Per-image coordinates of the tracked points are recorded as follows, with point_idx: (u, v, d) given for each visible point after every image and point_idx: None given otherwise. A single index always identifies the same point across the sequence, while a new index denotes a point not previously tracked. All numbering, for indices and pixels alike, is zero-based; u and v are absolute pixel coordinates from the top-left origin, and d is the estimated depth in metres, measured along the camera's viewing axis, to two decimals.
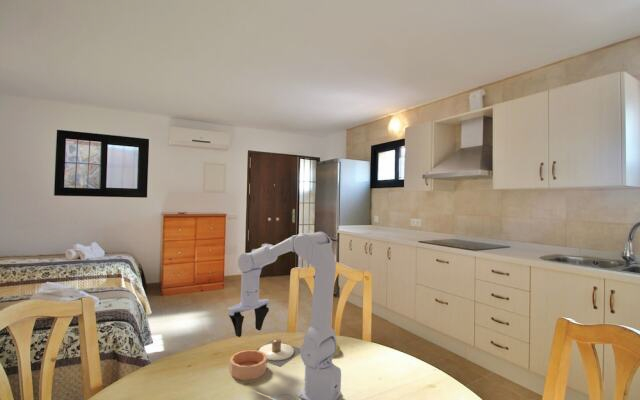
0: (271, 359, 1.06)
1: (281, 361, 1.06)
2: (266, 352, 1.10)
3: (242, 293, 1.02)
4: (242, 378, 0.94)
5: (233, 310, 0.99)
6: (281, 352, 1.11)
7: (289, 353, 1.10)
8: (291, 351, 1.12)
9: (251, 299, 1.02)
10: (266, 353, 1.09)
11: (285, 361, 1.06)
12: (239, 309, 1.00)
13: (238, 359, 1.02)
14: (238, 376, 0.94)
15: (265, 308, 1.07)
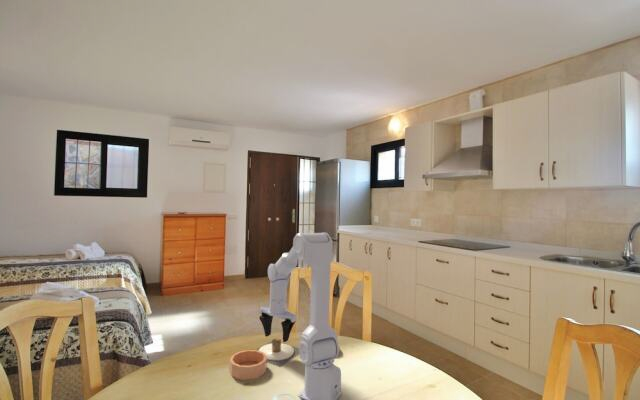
0: (271, 359, 1.06)
1: (281, 361, 1.06)
2: (266, 352, 1.10)
3: None
4: (242, 378, 0.94)
5: (260, 309, 1.14)
6: (281, 352, 1.11)
7: (289, 353, 1.10)
8: (291, 351, 1.12)
9: (270, 306, 1.10)
10: (266, 353, 1.09)
11: (285, 361, 1.06)
12: (264, 311, 1.13)
13: (238, 359, 1.02)
14: (238, 376, 0.94)
15: (286, 322, 1.08)
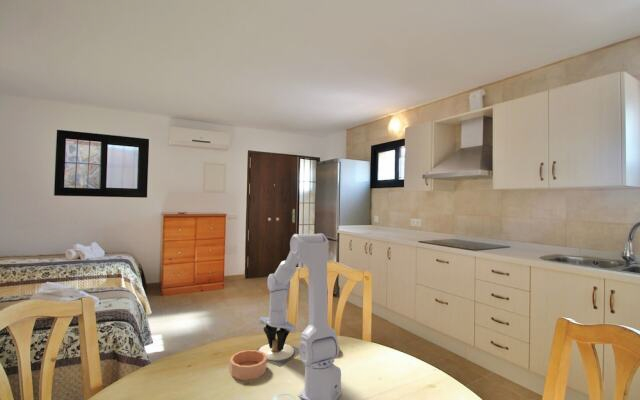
0: (271, 359, 1.06)
1: (281, 361, 1.06)
2: (266, 352, 1.10)
3: None
4: (242, 378, 0.94)
5: (260, 319, 1.14)
6: (281, 352, 1.11)
7: (289, 353, 1.10)
8: (291, 351, 1.12)
9: (270, 317, 1.10)
10: (266, 353, 1.09)
11: (285, 361, 1.06)
12: (263, 321, 1.13)
13: (238, 359, 1.02)
14: (238, 376, 0.94)
15: (285, 332, 1.08)
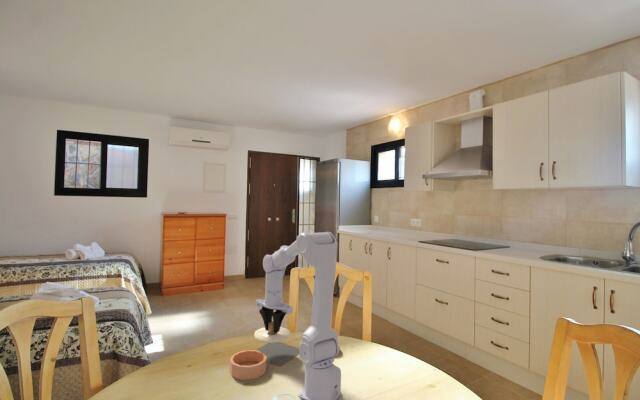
0: (267, 341, 1.04)
1: (281, 361, 1.06)
2: (262, 335, 1.08)
3: None
4: (242, 378, 0.94)
5: (256, 301, 1.12)
6: (277, 334, 1.09)
7: (286, 335, 1.08)
8: (287, 334, 1.09)
9: (265, 298, 1.08)
10: (262, 335, 1.07)
11: (285, 361, 1.06)
12: (259, 303, 1.11)
13: (238, 359, 1.02)
14: (238, 376, 0.94)
15: (281, 314, 1.05)
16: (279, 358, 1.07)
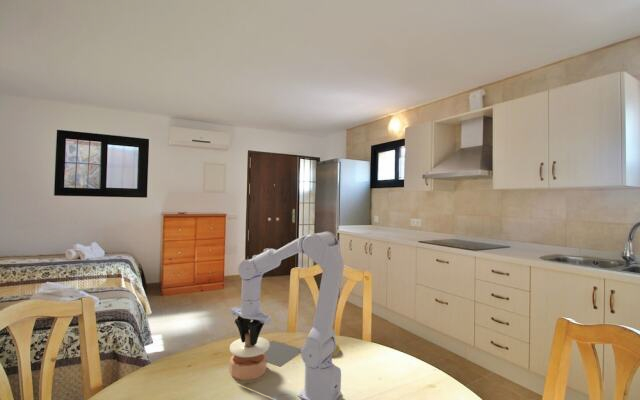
0: (243, 355, 0.94)
1: (281, 361, 1.06)
2: (238, 348, 0.98)
3: None
4: (242, 378, 0.94)
5: (232, 310, 1.02)
6: (255, 346, 0.99)
7: (264, 347, 0.99)
8: (266, 345, 1.00)
9: (241, 307, 0.98)
10: (238, 349, 0.98)
11: (285, 361, 1.06)
12: (235, 312, 1.01)
13: (238, 359, 1.02)
14: (238, 376, 0.94)
15: (258, 324, 0.96)
16: (279, 358, 1.07)
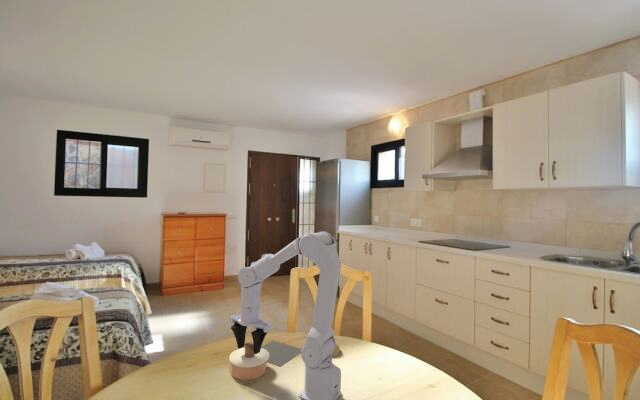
0: (242, 365, 0.94)
1: (281, 361, 1.06)
2: (238, 358, 0.98)
3: None
4: (242, 378, 0.94)
5: (231, 318, 1.02)
6: (255, 357, 0.99)
7: (264, 358, 0.99)
8: (266, 356, 1.00)
9: (241, 314, 0.98)
10: (238, 358, 0.98)
11: (285, 361, 1.06)
12: (234, 319, 1.01)
13: None
14: (238, 376, 0.94)
15: (258, 332, 0.96)
16: (279, 358, 1.07)
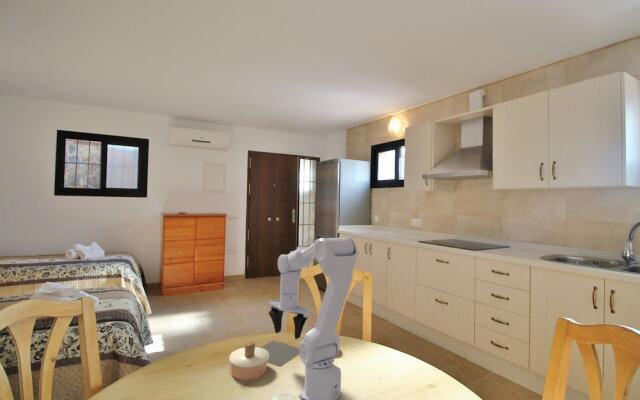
0: (242, 365, 0.94)
1: (281, 361, 1.06)
2: (238, 358, 0.98)
3: None
4: (242, 378, 0.94)
5: (270, 304, 1.06)
6: (255, 357, 0.99)
7: (264, 358, 0.99)
8: (266, 356, 1.00)
9: (281, 300, 1.02)
10: (238, 358, 0.98)
11: (285, 361, 1.06)
12: (273, 305, 1.05)
13: None
14: (238, 376, 0.94)
15: (298, 317, 0.99)
16: (279, 358, 1.07)
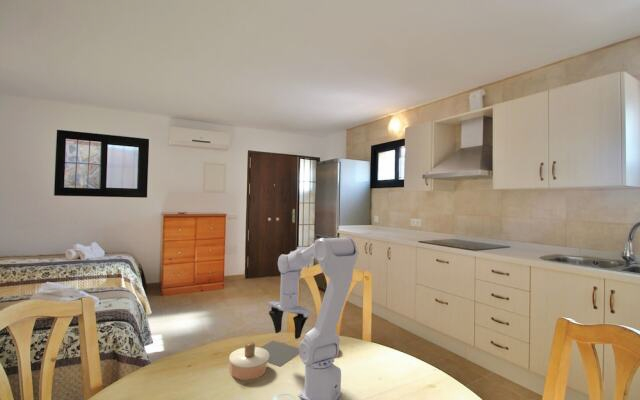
0: (242, 365, 0.94)
1: (281, 361, 1.06)
2: (238, 358, 0.98)
3: None
4: (242, 378, 0.94)
5: (270, 304, 1.06)
6: (255, 357, 0.99)
7: (264, 358, 0.99)
8: (266, 356, 1.00)
9: (281, 300, 1.02)
10: (238, 358, 0.98)
11: (285, 361, 1.06)
12: (273, 305, 1.05)
13: None
14: (238, 376, 0.94)
15: (298, 317, 1.00)
16: (279, 358, 1.07)
